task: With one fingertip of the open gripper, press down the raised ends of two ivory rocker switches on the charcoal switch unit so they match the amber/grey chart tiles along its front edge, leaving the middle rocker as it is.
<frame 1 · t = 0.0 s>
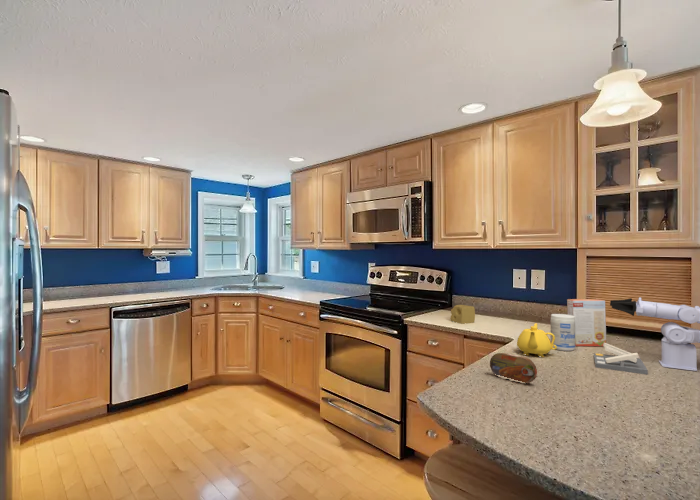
hand: (611, 304, 145), 22 cm above the countertop, tool horizontal, fingers open, 7 cm apart
supplement tub: (562, 349, 160), on the countertop
teapot: (536, 354, 151), on the countertop
rocker near: (621, 357, 131), point 4 cm above the countertop, hinge at 20.0°
cracker box: (586, 345, 166), on the countertop
tin: (512, 380, 121), on the countertop
cheese: (462, 322, 222), on the countertop
switch base: (618, 364, 136), on the countertop
rocker middle: (620, 354, 136), point 4 cm above the countertop, hinge at -20.0°
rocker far: (618, 350, 141), point 4 cm above the countertop, hinge at -20.0°
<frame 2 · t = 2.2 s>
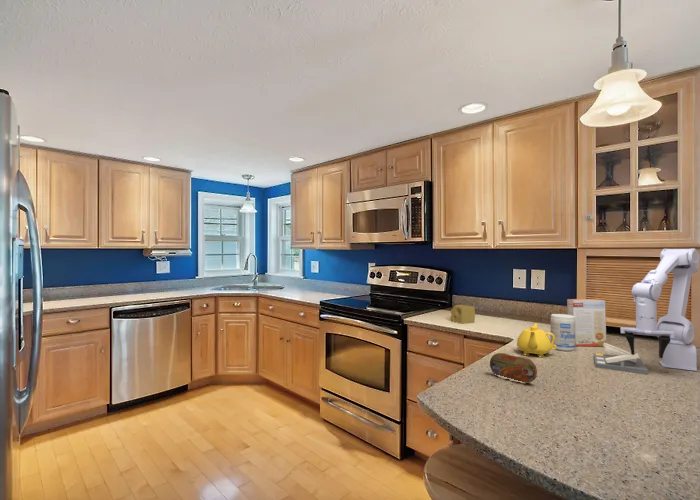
hand: (646, 355, 127), 6 cm above the countertop, tool pointing down, fingers open, 7 cm apart
rocker near: (621, 357, 131), point 4 cm above the countertop, hinge at 20.0°, touching gripper
everything else where it was.
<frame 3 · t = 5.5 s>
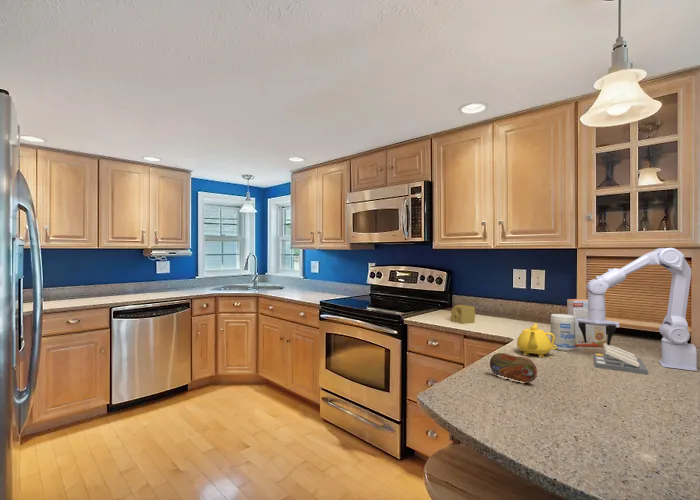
hand: (596, 343, 145), 6 cm above the countertop, tool pointing down, fingers open, 7 cm apart
rocker near: (621, 357, 131), point 4 cm above the countertop, hinge at -20.1°
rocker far: (618, 350, 141), point 4 cm above the countertop, hinge at -20.0°, touching gripper
everything else where it was.
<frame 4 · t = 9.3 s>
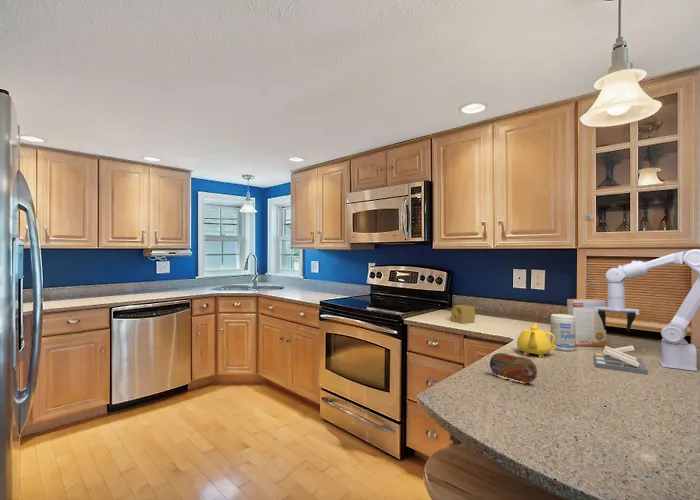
hand: (616, 330, 148), 10 cm above the countertop, tool pointing down, fingers open, 7 cm apart
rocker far: (618, 350, 141), point 4 cm above the countertop, hinge at 20.1°
everything else where it was.
at the end: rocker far at +20° (first picture: -20°); rocker near at -20° (first picture: +20°); rocker middle at -20° (first picture: -20°) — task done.
